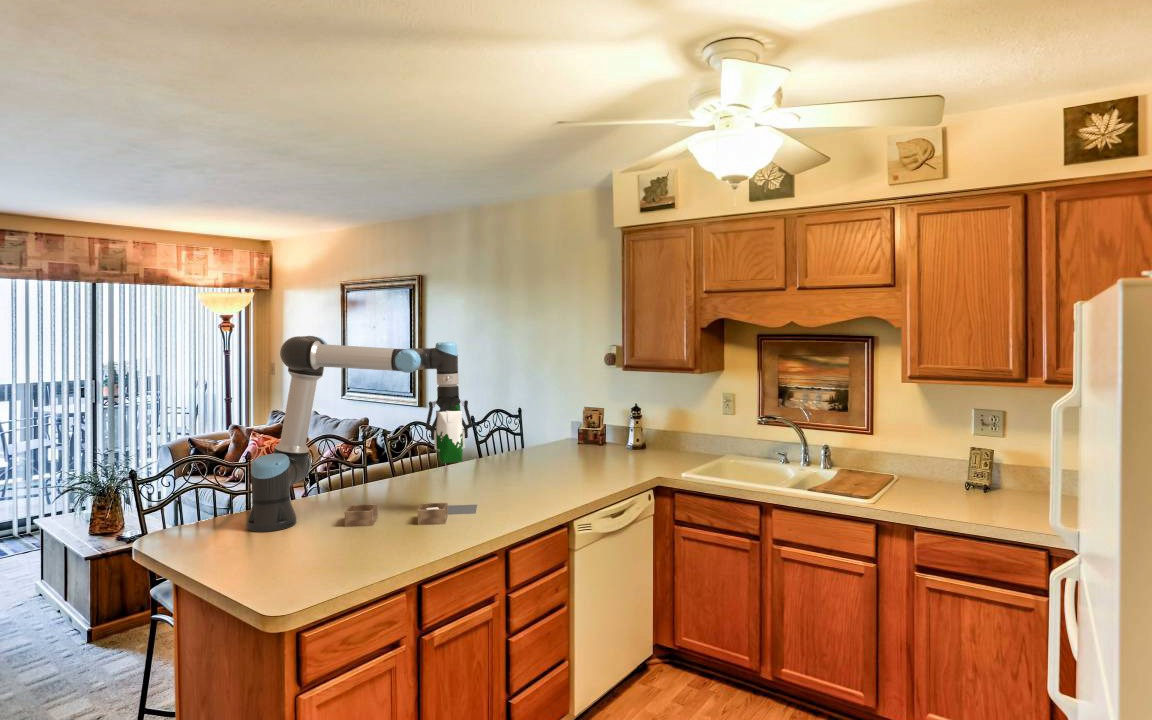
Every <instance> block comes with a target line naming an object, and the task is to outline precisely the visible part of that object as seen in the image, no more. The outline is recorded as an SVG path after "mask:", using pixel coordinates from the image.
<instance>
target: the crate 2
mask: <svg viewBox="0 0 1152 720" xmlns="http://www.w3.org/2000/svg"><path fill="white" fill-rule="evenodd" d="M448 506H449V504H448V502H429V503H428V502H427V503H426V502H425V503H423V502H422V503H421V504H420V505H419V507H418V508H417V526H424V525H425V526H434V525H446V523H447V519H448V518H449V517H448V516H449V515H448ZM433 507H438V508H439V509H430V510H426V508H433Z"/></svg>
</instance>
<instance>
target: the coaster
mask: <svg viewBox="0 0 1152 720" xmlns="http://www.w3.org/2000/svg"><path fill="white" fill-rule="evenodd" d="M477 508H478V504H456V505H455V504H453V505H451V504H450V505H449V504H448V516H449V515H474V514H476V513H477Z"/></svg>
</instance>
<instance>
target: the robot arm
mask: <svg viewBox="0 0 1152 720" xmlns="http://www.w3.org/2000/svg"><path fill="white" fill-rule="evenodd" d="M457 347H458V345H457V343H456V342H453V341H452V342H451V341H449V342H448V341H447V342H446V341H445V342H436V343H435V347H431V348H430V347H428V348H427V347H424V348H420V347H419V348H414V347H412V348H411V347H410V348H392V347H391V348H390V347H373V346H358V345H356V346H355V345H340V344H328V342H327V341H325V339H323V338H322V337H318V336H314V335H304V336H293V337H290V338H288V339H286V340H285V341H284V342H283V344H282V346H281V347H280V353H279V356H280V359H281V362H282V363H283V364H284V365H285V367H287V373H289V375H290V377H291V378H290V383H289V391H288V395H287V401H286V406H285V412H284V417H283V425H282V429H281V435H280V441H279V442H278V443H277V444H276V445H274V447H273V448H274V450H273V453H269V454H265V455H260V456H258V457H256V458H255V459H253V460H252V462H251V465H250V466H251V467H250V475H251V476H250V477H251V503H252V505H251V508H250V512H249V515H248V518H247V522H246V528H247V530H248V531H251V532H254V533H255V532H256V533H265V532H275V531H281V530H287V529H289V528H291V527H294V526H295V525H296V524H297V515H296V512H295V509H294V507H293V504H292V502H291V487H292V486H294V485H296V484H298V483H301V482H302V481H303V480H304V479H305V478H306V477H307V476H308V475H309V473H310V471H311V467H312V461H311V458H310V457H309V454H310V448H309V447H308V446H307V439H308V434H309V428H310V422H311V417H312V412H313V407H314V401H315V394H316V389H317V383H318V380H319V379H321V378H322V377H323V374H324V369H325V368H338V369H359V370H375V371H377V370H378V371H389V372H390V371H392V372H393V371H394V372H402V373H407V374H408V373H413V372H417V371H420V370H436V385H438V386H437V387H436V393H437V395H436V396H437V399H436V400H435V401H429V402H428V413H427V418H426V423H425V430H426V431H429V432H430V439H431V441H433V442H434V450H436V451H437V440H436V425H437V417H438V415H437V417H436V416H435V418H434V420H433V423H432V425H430V424H431V420H432V415H433V412H434V411H433V410H434V408H435V407H436V405H437V406H438V407H439V410H438V411H439V412H443V411H444V412H445V411H450V410H451V406H452V408H453V410H454V411H458V410H457V408H456V406H455V405H459V404H460V405H461V406H462V407H463V409H464V412H465V416H466V420H467V423H466V422H465V420H464V418H463V417H462V437H463V449H466V439H468V438H469V433H468V432H469V431H468V430H469V429H470V428H473V422H472V418H471V415H470V411H469V408H468V407H469V406H468V403H469V401H468V400H467V399H464V400H463V399H462V400H461V399H460V392H459V386H458V384H459V358H458V357H459V354H458V348H457ZM450 405H451V406H450Z"/></svg>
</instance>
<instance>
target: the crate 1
mask: <svg viewBox="0 0 1152 720" xmlns="http://www.w3.org/2000/svg"><path fill="white" fill-rule="evenodd" d="M378 507H379V505H378V503H377V504H376V503H367V504H350V506H348V507H347V508H346V510H345V511H344V513H343V514H344V528H349V527H351V528H353V527H372V526H374V525H375V523H376V522H377V521H378V519H379V508H378Z"/></svg>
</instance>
